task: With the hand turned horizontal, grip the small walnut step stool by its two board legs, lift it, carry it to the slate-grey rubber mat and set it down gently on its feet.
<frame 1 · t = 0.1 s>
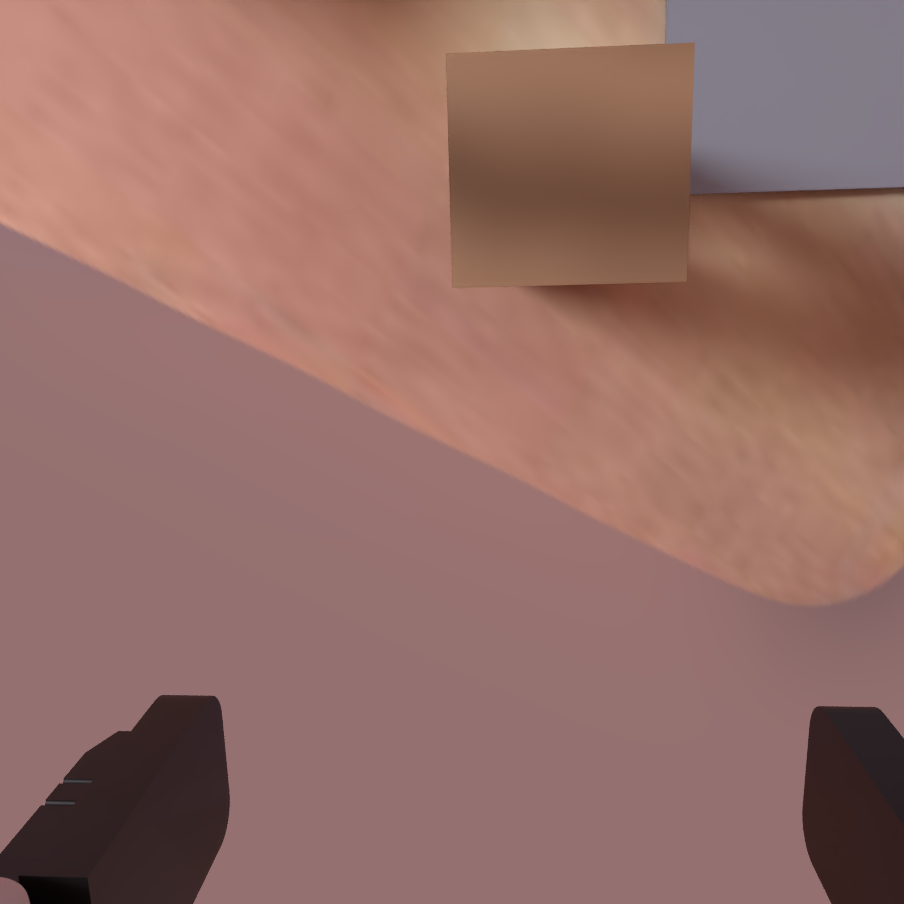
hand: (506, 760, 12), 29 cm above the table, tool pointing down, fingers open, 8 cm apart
stool: (546, 199, 38), on the table
mat: (837, 14, 35), on the table
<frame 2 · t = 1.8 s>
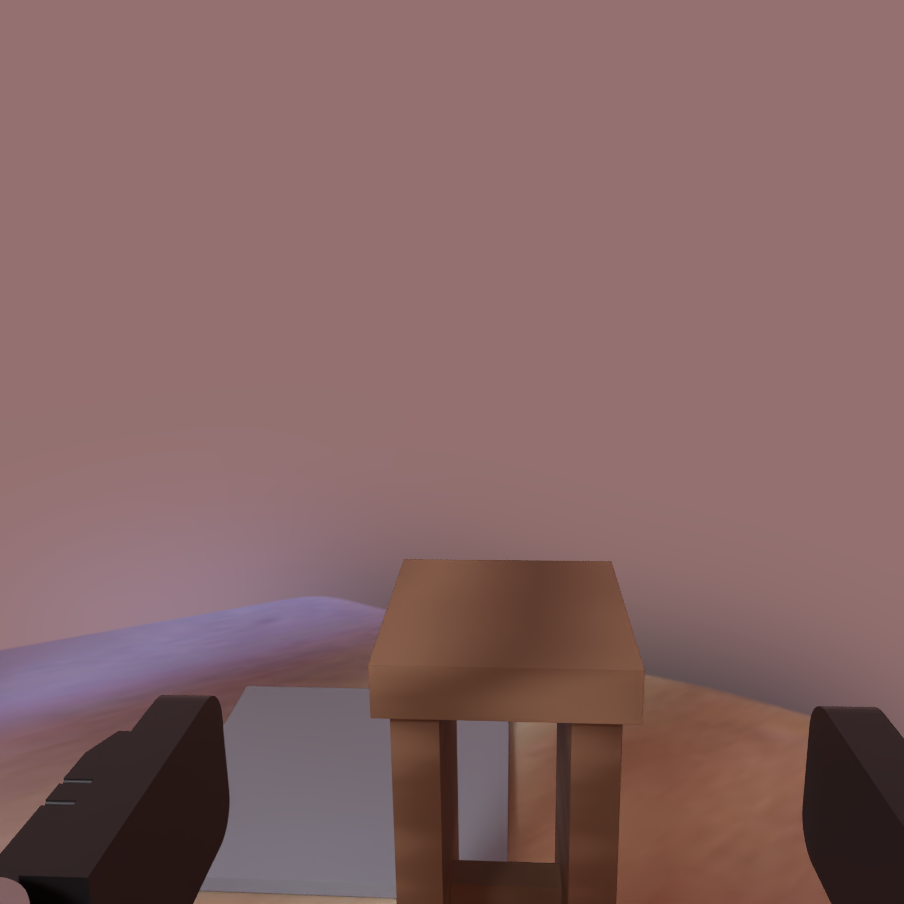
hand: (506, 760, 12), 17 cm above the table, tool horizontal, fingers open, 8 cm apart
mat: (353, 779, 39), on the table
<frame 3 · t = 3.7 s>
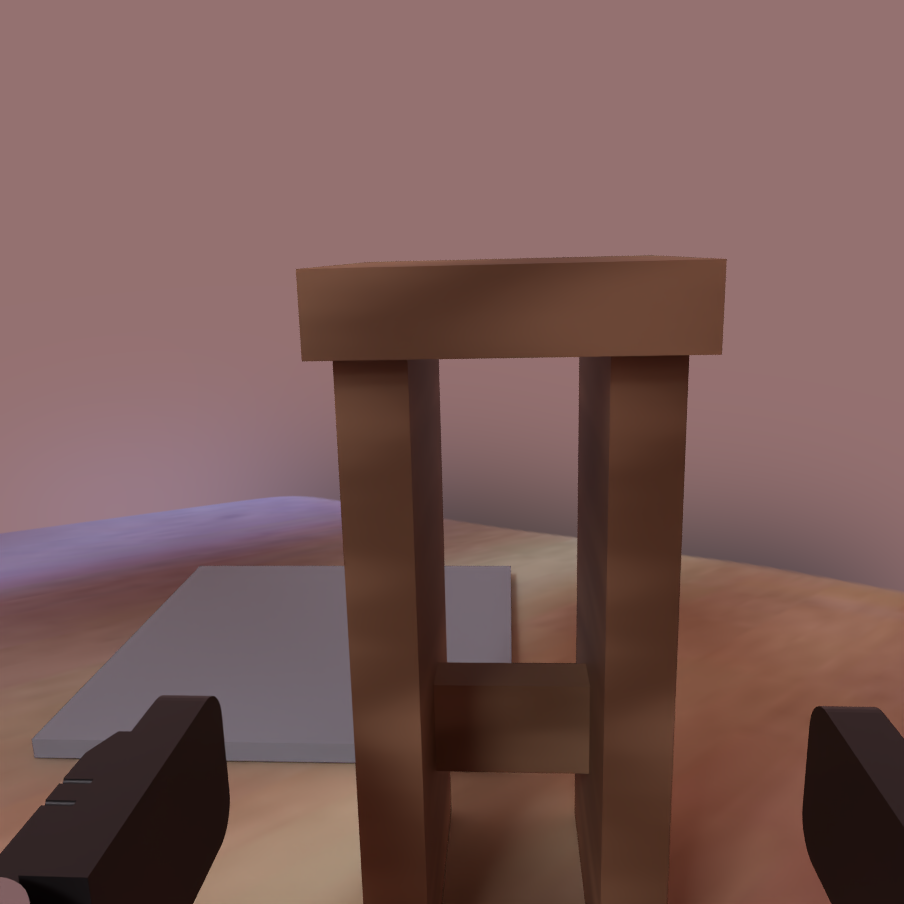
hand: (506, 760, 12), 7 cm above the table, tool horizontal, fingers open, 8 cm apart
stool: (513, 896, 19), on the table
mat: (320, 650, 31), on the table
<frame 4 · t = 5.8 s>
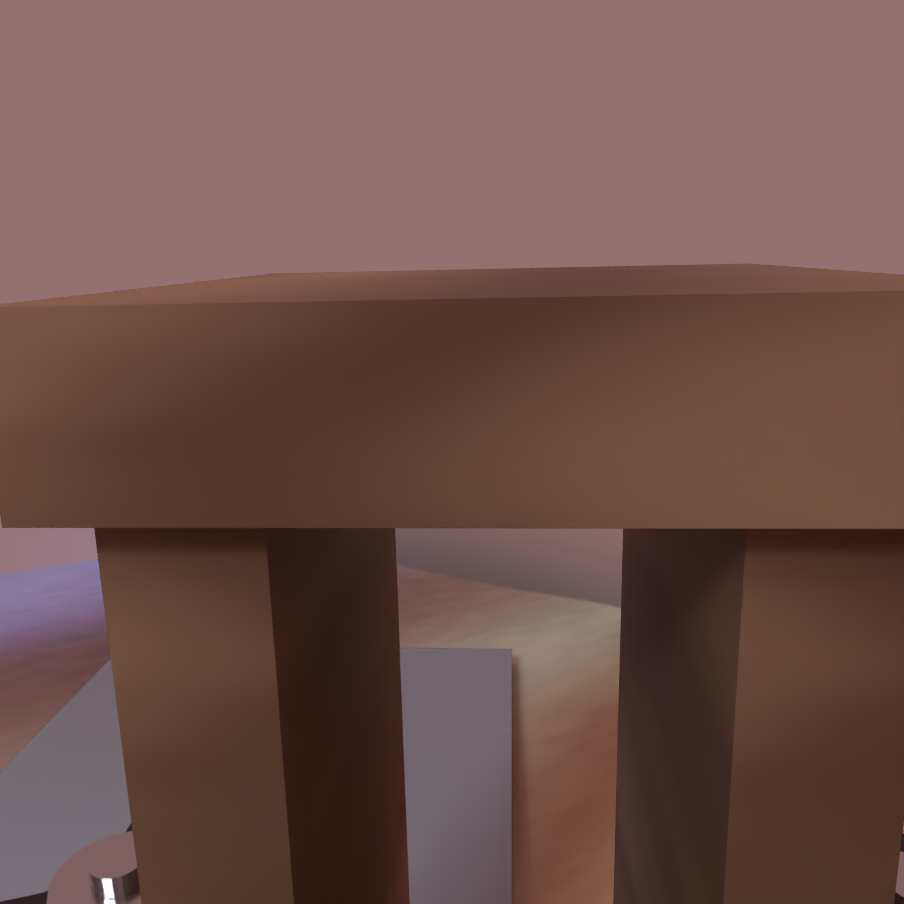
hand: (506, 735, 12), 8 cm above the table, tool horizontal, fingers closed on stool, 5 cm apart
mat: (258, 782, 24), on the table
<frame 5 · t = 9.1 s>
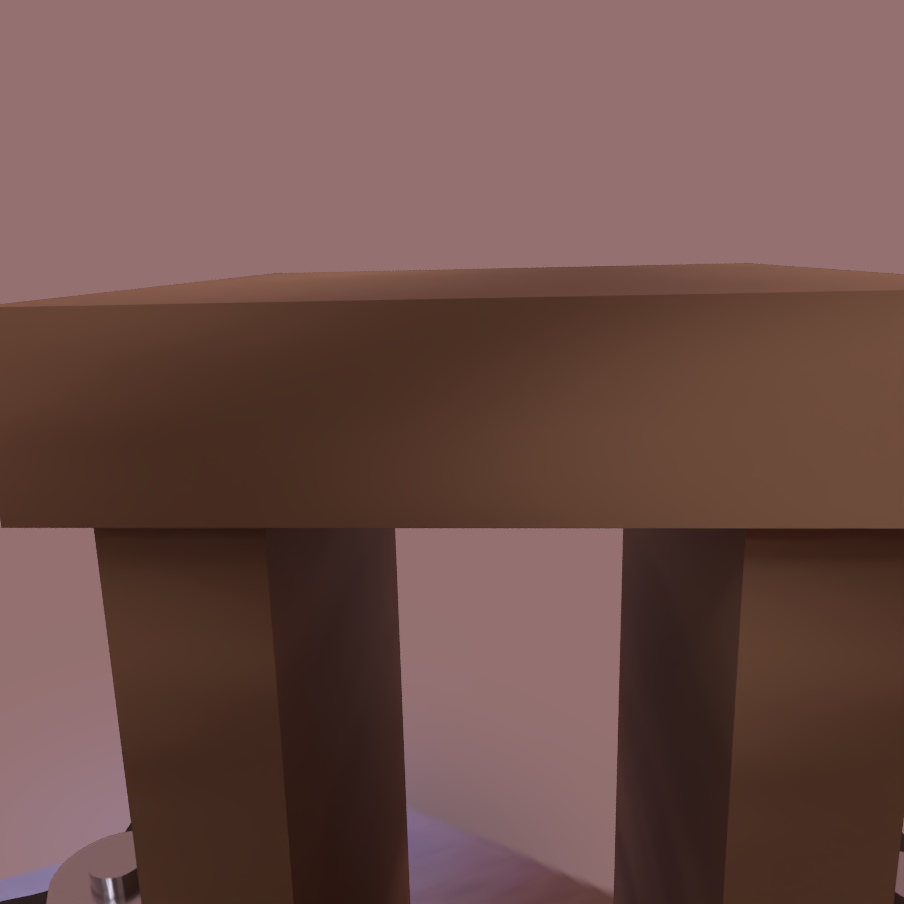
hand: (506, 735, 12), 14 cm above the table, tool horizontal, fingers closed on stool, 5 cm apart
when the fingers open (9 cm above the table, at t = 10.7 s): stool stays where it is, resting on mat.
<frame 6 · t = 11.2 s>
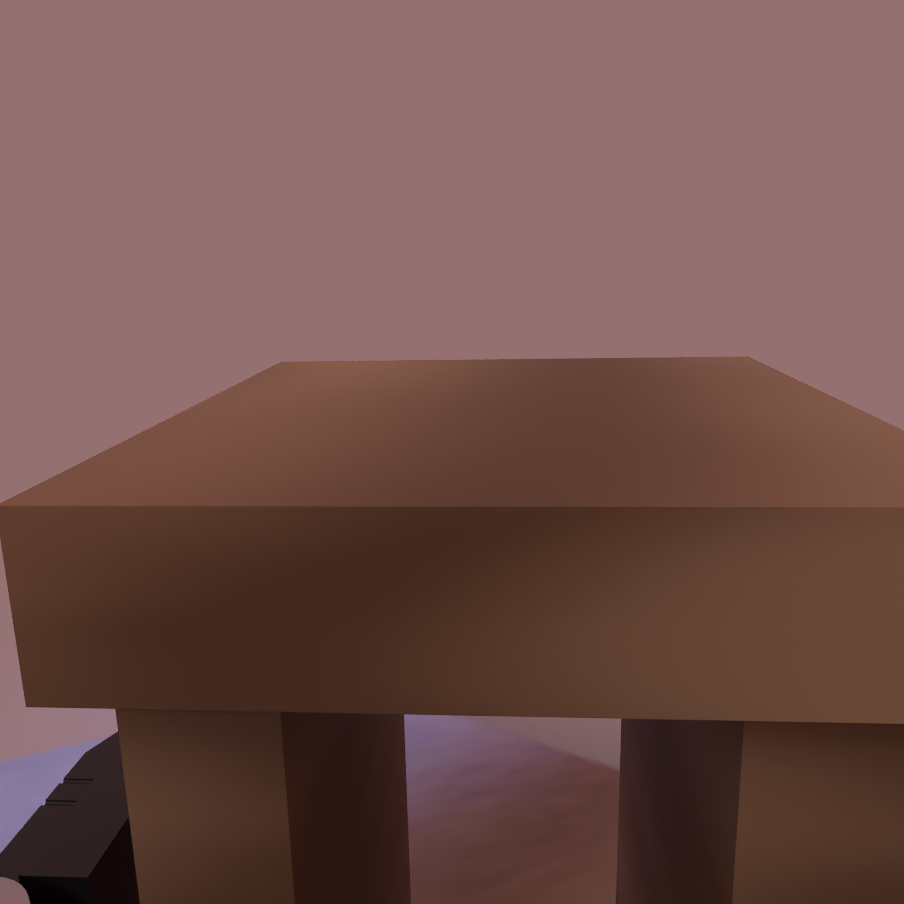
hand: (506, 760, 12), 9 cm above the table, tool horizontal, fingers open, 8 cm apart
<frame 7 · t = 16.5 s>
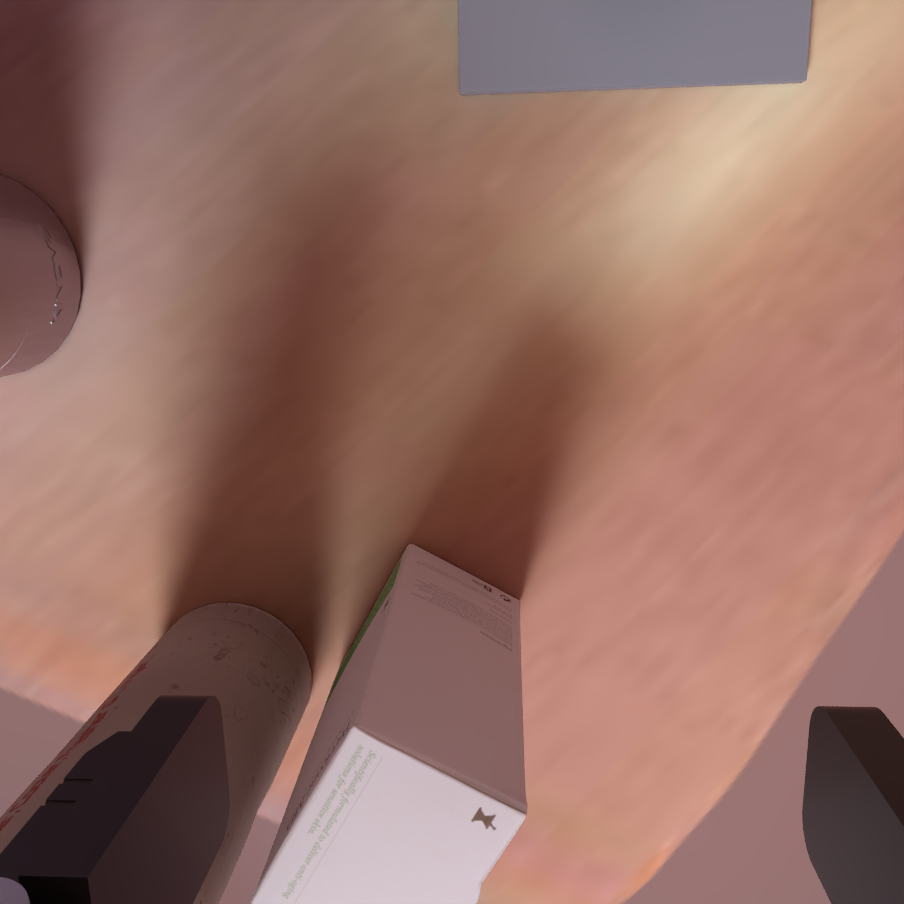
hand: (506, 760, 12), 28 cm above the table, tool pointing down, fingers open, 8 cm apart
skincare box: (430, 637, 42), on the table
thermos bottle: (235, 672, 43), on the table
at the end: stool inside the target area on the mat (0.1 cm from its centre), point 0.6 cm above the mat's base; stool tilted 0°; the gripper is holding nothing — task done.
